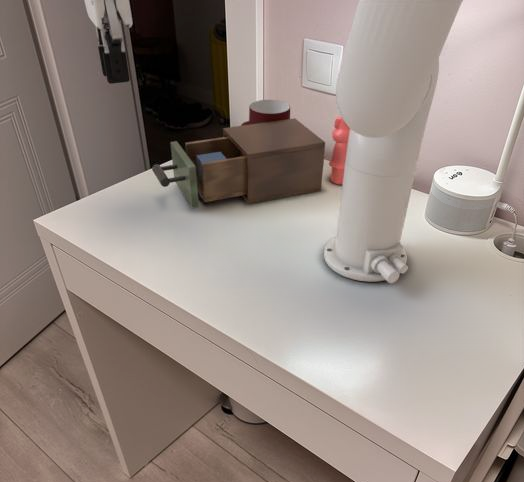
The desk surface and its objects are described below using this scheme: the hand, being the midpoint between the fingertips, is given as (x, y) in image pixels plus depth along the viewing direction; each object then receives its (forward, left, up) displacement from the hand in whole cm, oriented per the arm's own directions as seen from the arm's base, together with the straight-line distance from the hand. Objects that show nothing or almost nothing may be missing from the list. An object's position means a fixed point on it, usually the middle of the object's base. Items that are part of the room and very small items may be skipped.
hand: (116, 77), depth 80 cm
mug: (+11, -29, -21) cm, 38 cm away
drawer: (0, -13, -20) cm, 24 cm away
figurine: (-4, -39, -21) cm, 45 cm away
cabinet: (0, -26, -21) cm, 34 cm away
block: (0, -14, -19) cm, 24 cm away
